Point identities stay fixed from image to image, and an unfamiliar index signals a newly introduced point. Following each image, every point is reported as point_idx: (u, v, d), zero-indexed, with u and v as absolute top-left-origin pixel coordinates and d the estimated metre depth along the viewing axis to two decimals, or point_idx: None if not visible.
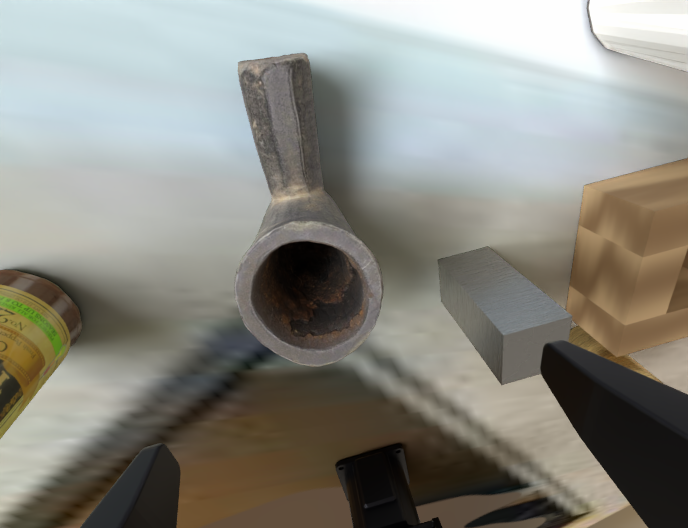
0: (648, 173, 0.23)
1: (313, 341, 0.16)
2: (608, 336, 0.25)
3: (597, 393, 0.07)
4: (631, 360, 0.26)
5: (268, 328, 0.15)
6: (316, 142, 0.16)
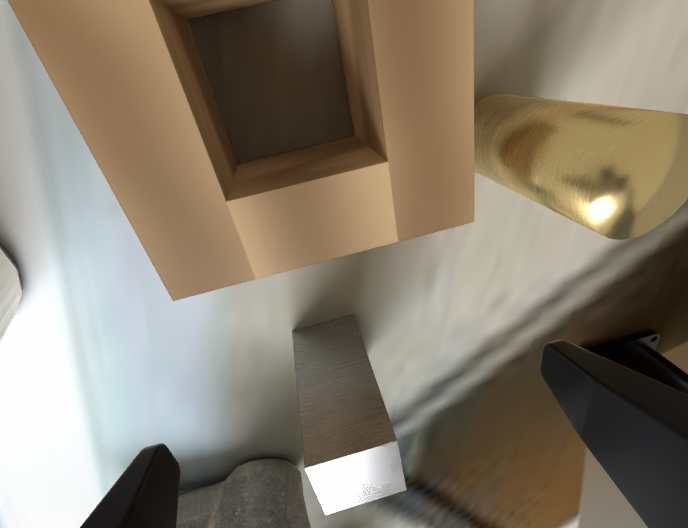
0: None
1: None
2: None
3: (597, 393, 0.07)
4: (515, 143, 0.12)
5: None
6: None
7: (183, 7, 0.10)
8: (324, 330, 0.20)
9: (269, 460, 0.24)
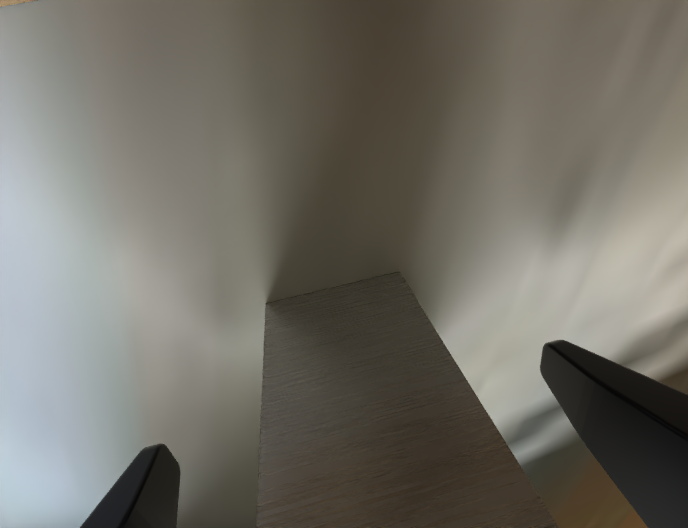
0: None
1: None
2: None
3: (597, 393, 0.07)
4: None
5: None
6: None
7: None
8: (337, 302, 0.09)
9: None
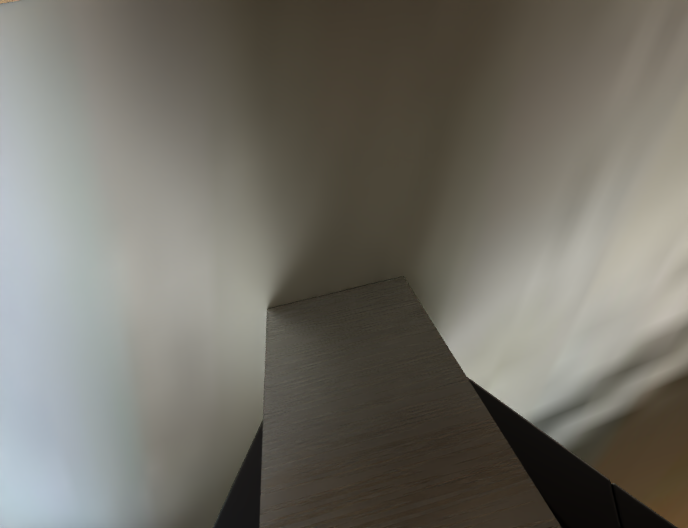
0: None
1: None
2: None
3: None
4: None
5: None
6: None
7: None
8: (340, 307, 0.08)
9: None
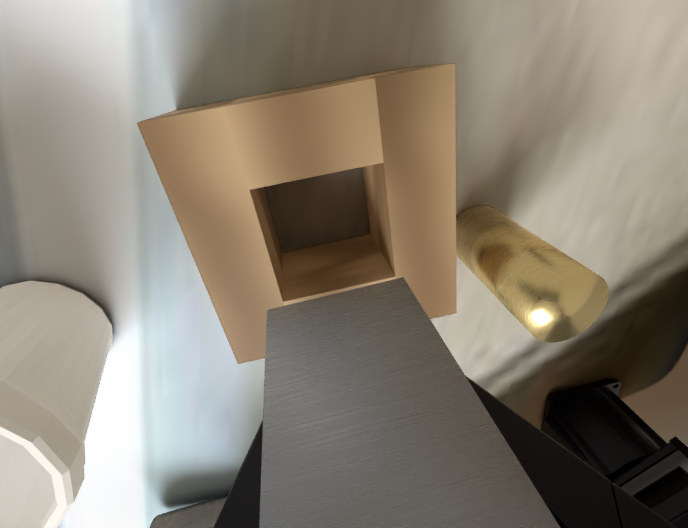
0: None
1: None
2: None
3: None
4: (486, 260, 0.17)
5: None
6: None
7: None
8: (340, 308, 0.08)
9: None
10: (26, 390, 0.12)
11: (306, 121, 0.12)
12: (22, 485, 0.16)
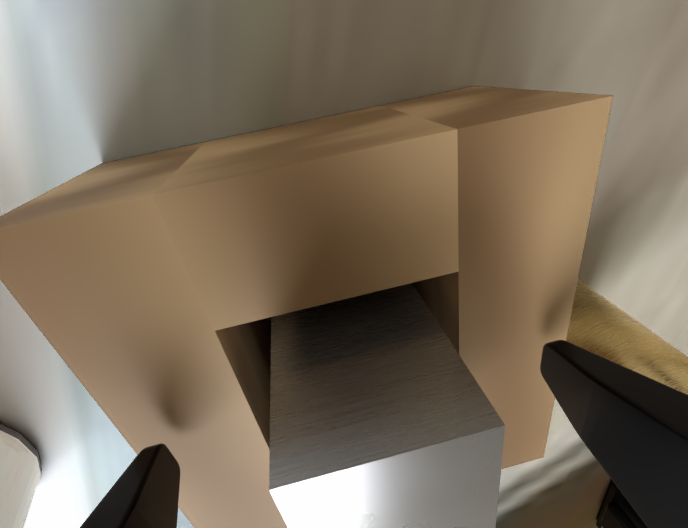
0: None
1: None
2: None
3: (597, 393, 0.07)
4: None
5: None
6: None
7: None
8: None
9: None
10: None
11: (320, 214, 0.06)
12: None
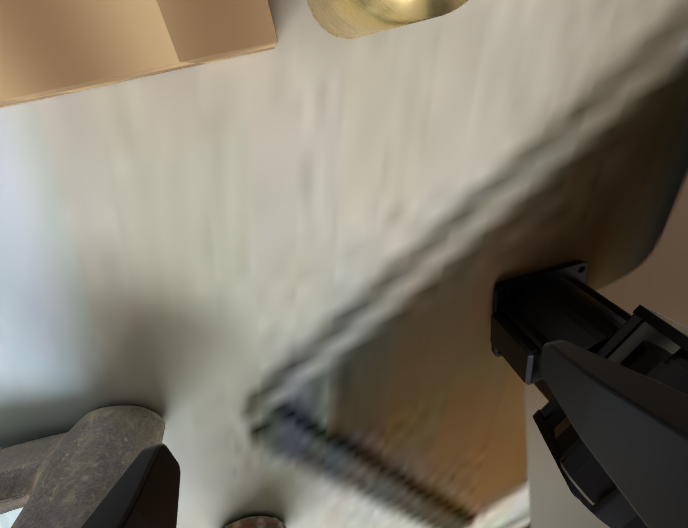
0: None
1: None
2: (241, 50, 0.11)
3: (597, 393, 0.07)
4: None
5: None
6: None
7: None
8: None
9: (123, 406, 0.22)
10: None
11: None
12: None
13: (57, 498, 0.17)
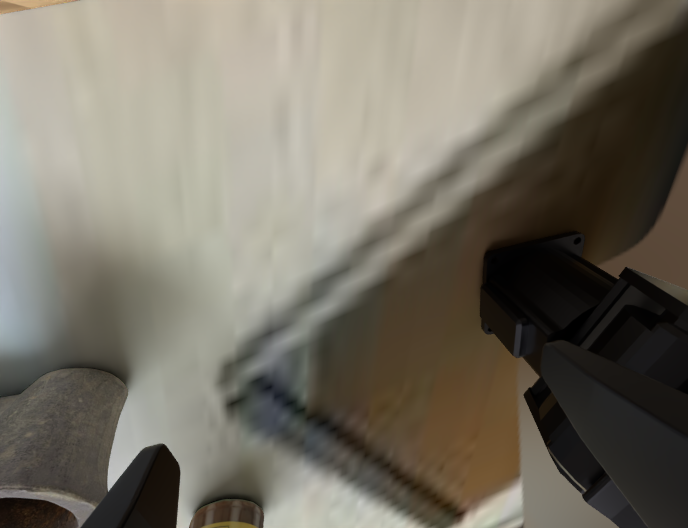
0: None
1: None
2: None
3: (597, 393, 0.07)
4: None
5: None
6: None
7: None
8: None
9: (83, 369, 0.21)
10: None
11: None
12: None
13: None
